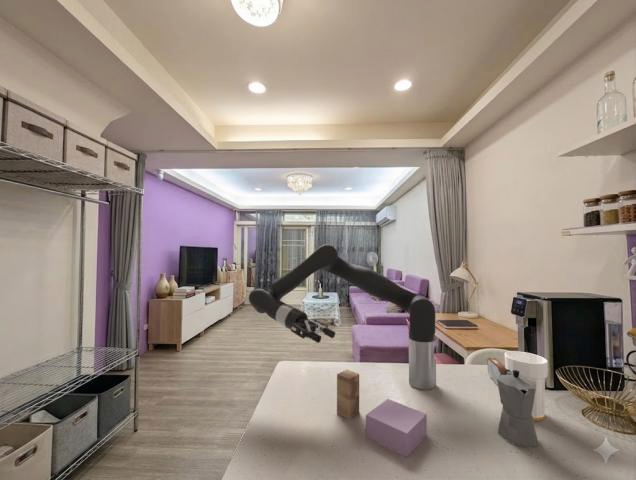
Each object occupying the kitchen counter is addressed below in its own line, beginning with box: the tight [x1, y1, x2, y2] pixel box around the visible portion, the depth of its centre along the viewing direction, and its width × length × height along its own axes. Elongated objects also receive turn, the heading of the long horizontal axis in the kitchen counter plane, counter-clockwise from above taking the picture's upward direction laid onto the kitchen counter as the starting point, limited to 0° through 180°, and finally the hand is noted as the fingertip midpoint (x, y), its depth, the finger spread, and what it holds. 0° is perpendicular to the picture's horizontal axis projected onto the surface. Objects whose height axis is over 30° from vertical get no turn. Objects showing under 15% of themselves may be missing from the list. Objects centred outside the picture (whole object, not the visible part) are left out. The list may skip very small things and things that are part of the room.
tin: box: [486, 357, 507, 386], centre depth 113 cm, size 15×3×8 cm, turn 168°
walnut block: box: [336, 369, 360, 420], centre depth 91 cm, size 5×5×12 cm
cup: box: [504, 350, 549, 422], centre depth 93 cm, size 11×11×17 cm
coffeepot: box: [497, 369, 538, 448], centre depth 81 cm, size 15×9×18 cm, turn 162°
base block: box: [365, 398, 428, 458], centre depth 80 cm, size 12×12×6 cm
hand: (327, 337), depth 95 cm, fingers open, 8 cm apart
